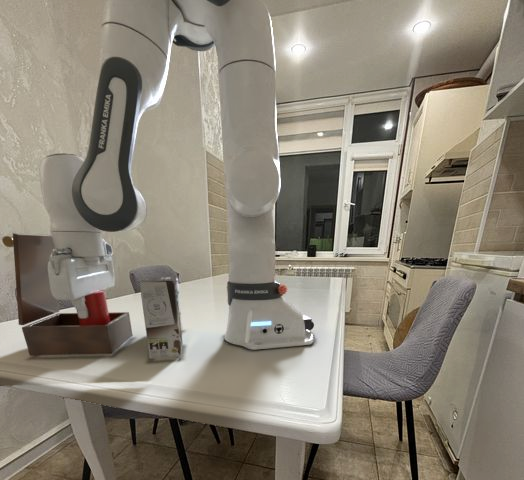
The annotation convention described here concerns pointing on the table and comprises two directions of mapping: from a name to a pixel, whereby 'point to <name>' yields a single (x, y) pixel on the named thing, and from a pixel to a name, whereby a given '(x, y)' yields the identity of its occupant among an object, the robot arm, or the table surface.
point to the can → (96, 309)
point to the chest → (76, 335)
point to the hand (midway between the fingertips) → (93, 313)
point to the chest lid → (32, 276)
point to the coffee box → (162, 316)
